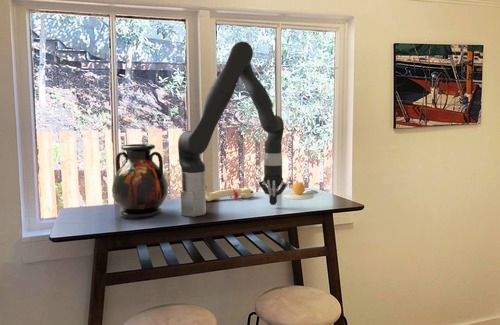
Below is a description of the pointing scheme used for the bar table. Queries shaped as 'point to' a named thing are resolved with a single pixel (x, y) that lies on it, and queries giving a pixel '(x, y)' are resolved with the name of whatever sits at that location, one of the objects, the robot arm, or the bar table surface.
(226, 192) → the cat figure
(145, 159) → the amphora vase
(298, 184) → the ball
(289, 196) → the disc
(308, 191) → the disc
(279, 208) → the bar table surface
